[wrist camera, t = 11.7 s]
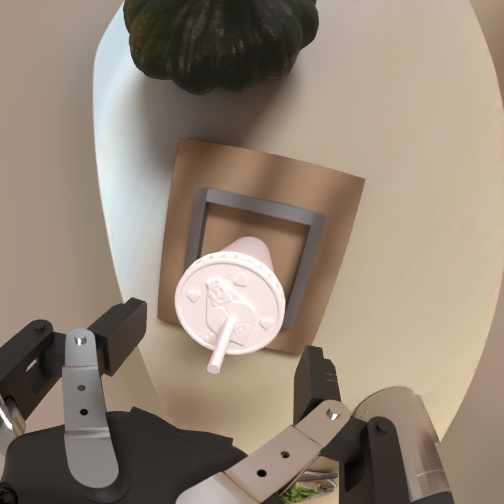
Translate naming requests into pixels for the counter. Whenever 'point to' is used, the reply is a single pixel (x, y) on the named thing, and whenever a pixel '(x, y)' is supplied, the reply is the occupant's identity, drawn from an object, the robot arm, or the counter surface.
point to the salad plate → (309, 487)
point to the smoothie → (231, 300)
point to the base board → (260, 225)
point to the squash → (218, 40)
